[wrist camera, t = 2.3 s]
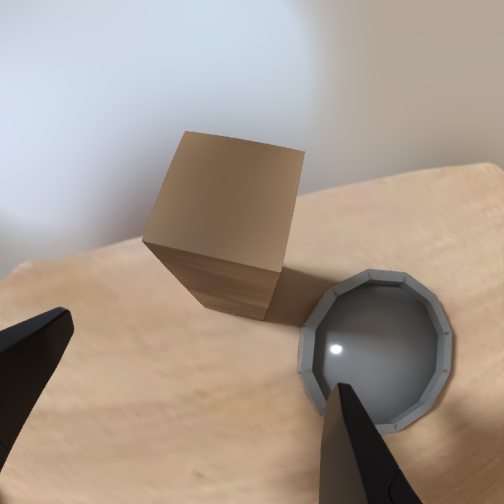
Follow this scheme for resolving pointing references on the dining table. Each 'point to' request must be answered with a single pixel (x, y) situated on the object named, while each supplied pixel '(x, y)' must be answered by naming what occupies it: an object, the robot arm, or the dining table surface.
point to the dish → (377, 347)
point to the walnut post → (226, 220)
